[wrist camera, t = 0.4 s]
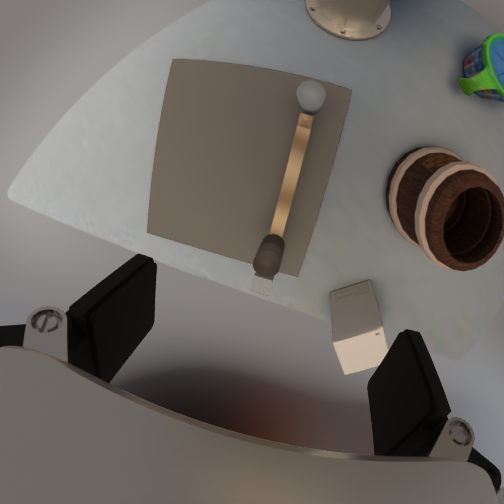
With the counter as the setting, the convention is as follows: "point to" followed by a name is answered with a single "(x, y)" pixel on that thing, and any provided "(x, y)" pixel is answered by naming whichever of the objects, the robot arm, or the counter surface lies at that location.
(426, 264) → the counter surface
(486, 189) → the mug
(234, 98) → the taupe mat
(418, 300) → the counter surface
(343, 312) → the supplement box
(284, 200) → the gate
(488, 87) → the snack cup
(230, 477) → the robot arm
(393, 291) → the counter surface
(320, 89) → the gate frame
